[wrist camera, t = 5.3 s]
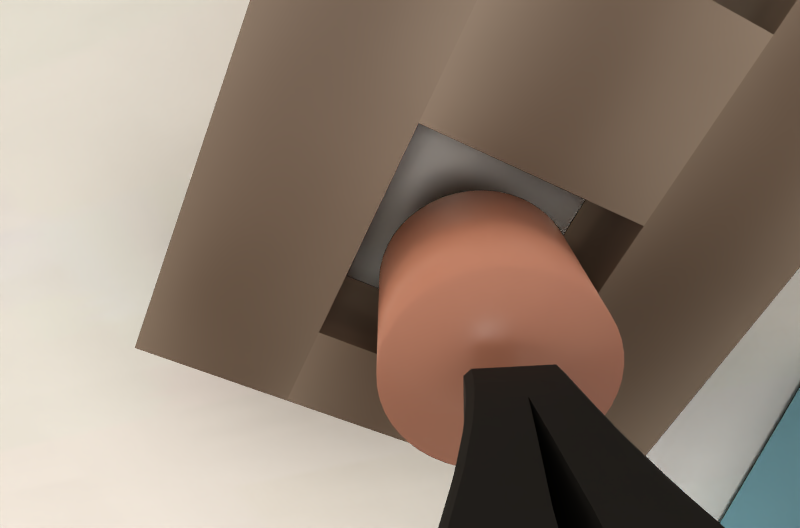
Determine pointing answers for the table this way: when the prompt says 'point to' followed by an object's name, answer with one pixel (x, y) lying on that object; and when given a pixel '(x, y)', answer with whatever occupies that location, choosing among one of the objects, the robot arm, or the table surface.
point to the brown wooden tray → (506, 141)
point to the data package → (772, 480)
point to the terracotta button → (483, 312)
